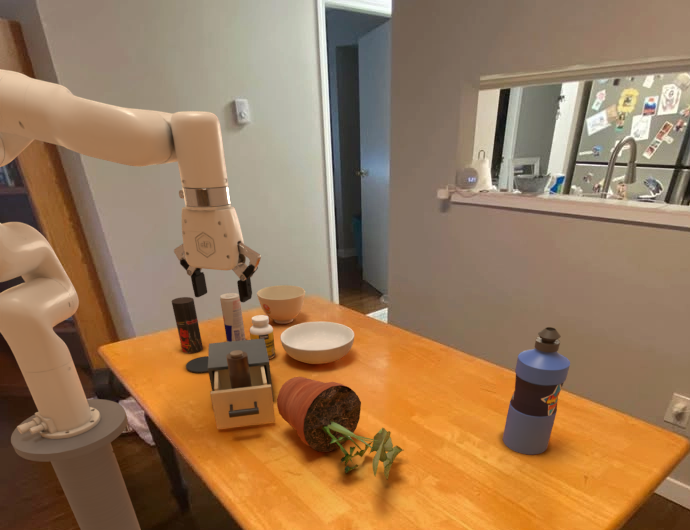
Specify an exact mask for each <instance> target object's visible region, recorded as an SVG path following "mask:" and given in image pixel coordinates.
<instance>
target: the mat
mask: <svg viewBox="0 0 690 530" xmlns="http://www.w3.org/2000/svg"><path fill="white" fill-rule="evenodd" d="M185 369H186V370H187V371H188V372H190V373H192V374H209V372H208V355H206V356H199V357H196V358H192V359H191V360H189V361H188V362H187V363H186V364H185Z"/></svg>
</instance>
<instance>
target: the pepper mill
mask: <svg viewBox="0 0 690 530" xmlns="http://www.w3.org/2000/svg"><path fill="white" fill-rule="evenodd" d="M226 358H227V364H228V370H229V376H230V382H231V388H232V389H235V388H244V387H252V384H251V377H250V370H249V362H248V355H247V353H246V352H243V351H240V350H235V351H232V352H231V353H229V354H227V355H226Z"/></svg>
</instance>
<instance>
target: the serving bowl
mask: <svg viewBox="0 0 690 530" xmlns="http://www.w3.org/2000/svg"><path fill="white" fill-rule="evenodd" d="M280 342H281V343H280V344H281V346H282V348H283V351H284V352H285V353H286V354H287V355H288V356H289V357H290V358H291V359H294V360H296V361H298V362H301V363H305V364H311V365H322V364H328V363H333V362H336V361H338V360H340V359H342V358H343V357H345V356H347V354H348V353H349V352H350V351H351V349H352V348H353V345H354V342H355V331H354V330H353V329H352V328H351V327H349V326H347V325H345V324H343V323H338V322H333V321H323V320H322V321H320V320H319V321H306V322H301V323H298V324H294V325H292V326H289V327H287V328H286V329H285V330H283V331H282V332H281V334H280Z"/></svg>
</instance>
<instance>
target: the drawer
mask: <svg viewBox="0 0 690 530" xmlns="http://www.w3.org/2000/svg"><path fill="white" fill-rule="evenodd" d="M249 370H250V377H251V384H252V387H244V388H235V389H232V388H231V382H230V376H229V370H228V369H225V370H216V371H215V378H214V390H215V391H212V390H211V391H210V399H211V404H212V409H213V415H214V419H215V425H216V430H225V429H232V428H240V427H247V426H248V427H249V426H254V425H261V424H268V423H270V424H271V423H276V416H275V408H274V407H275V406H274V402H273V400H274V396H273V397H272V391H273V388H272V389H271V384H270V385H267V380H266V375H265V369H264V365H263V366H253V367H249Z"/></svg>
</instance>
